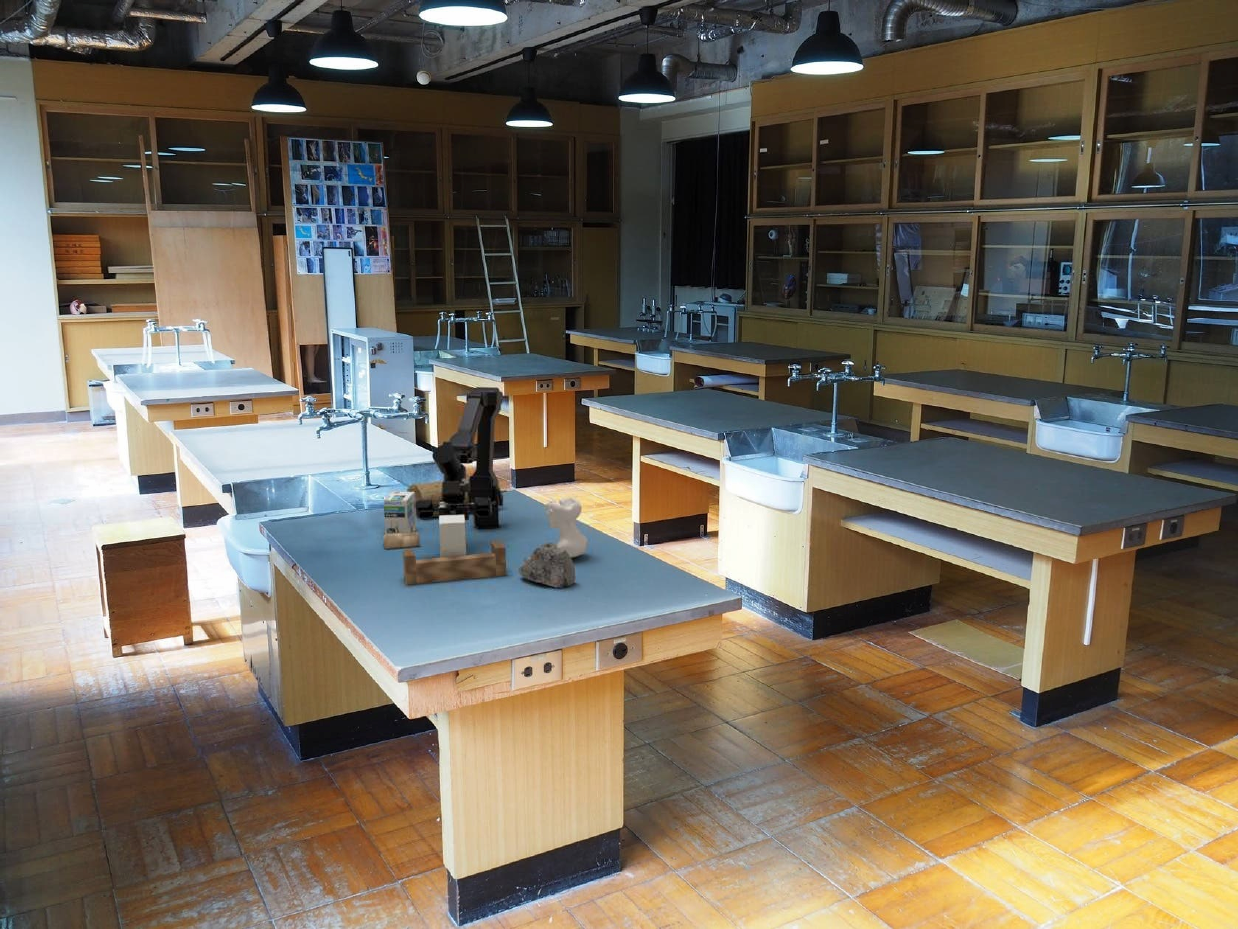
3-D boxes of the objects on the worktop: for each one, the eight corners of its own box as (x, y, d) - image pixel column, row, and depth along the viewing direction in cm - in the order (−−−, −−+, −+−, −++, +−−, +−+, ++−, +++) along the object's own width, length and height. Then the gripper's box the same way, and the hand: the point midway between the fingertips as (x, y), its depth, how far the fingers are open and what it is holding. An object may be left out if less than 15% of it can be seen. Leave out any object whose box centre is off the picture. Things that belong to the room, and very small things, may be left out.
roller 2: (419, 548, 275) (418, 542, 277) (419, 538, 273) (418, 533, 276) (385, 551, 272) (384, 545, 275) (385, 541, 271) (384, 535, 274)
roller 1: (417, 543, 280) (417, 532, 280) (418, 542, 277) (418, 531, 277) (383, 546, 277) (383, 535, 277) (384, 545, 274) (383, 534, 275)
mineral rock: (516, 578, 249) (515, 537, 246) (557, 571, 254) (556, 531, 251) (538, 593, 237) (537, 551, 235) (580, 586, 242) (579, 544, 240)
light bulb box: (409, 538, 282) (407, 500, 280) (384, 538, 282) (382, 500, 280) (417, 528, 293) (415, 491, 290) (393, 528, 293) (391, 491, 291)
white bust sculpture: (569, 565, 257) (568, 507, 254) (536, 557, 264) (534, 500, 261) (594, 556, 265) (593, 499, 262) (560, 549, 272) (559, 493, 268)
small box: (467, 574, 251) (465, 522, 249) (440, 575, 250) (438, 523, 248) (466, 564, 259) (464, 513, 256) (440, 565, 258) (438, 515, 255)
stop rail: (501, 568, 256) (500, 540, 254) (506, 575, 250) (505, 547, 249) (404, 577, 249) (402, 549, 248) (406, 584, 244) (405, 556, 242)
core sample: (405, 512, 311) (403, 479, 309) (487, 501, 323) (486, 470, 321) (420, 522, 299) (418, 489, 297) (504, 511, 311) (503, 478, 309)
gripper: (414, 468, 258) (411, 522, 250) (489, 466, 260) (489, 520, 252) (419, 491, 268) (416, 544, 259) (491, 489, 269) (491, 542, 261)
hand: (453, 537), depth 258 cm, fingers closed
